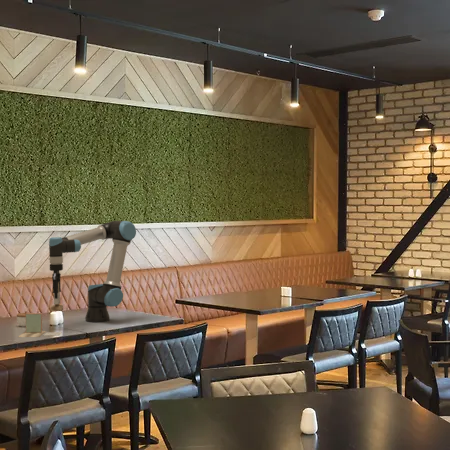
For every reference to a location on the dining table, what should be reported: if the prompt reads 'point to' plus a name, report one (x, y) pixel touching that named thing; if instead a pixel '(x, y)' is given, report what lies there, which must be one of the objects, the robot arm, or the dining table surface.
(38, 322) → the tile
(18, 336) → the board
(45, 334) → the rest pad
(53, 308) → the pusher
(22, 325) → the lidded jar
